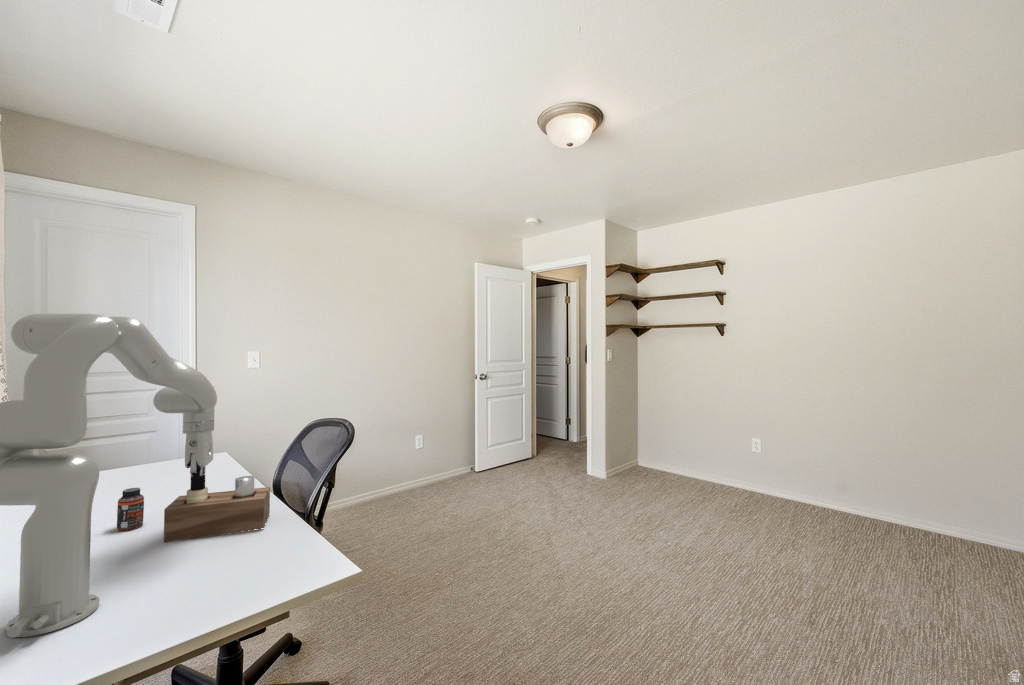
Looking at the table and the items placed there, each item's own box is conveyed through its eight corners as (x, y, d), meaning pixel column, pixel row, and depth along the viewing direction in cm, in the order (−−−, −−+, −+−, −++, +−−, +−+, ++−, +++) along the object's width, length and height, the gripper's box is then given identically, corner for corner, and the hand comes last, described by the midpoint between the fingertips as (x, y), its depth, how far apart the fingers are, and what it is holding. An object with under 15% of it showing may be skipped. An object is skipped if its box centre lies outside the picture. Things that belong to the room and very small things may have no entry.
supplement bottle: (127, 532, 126) (128, 493, 126) (111, 531, 127) (112, 491, 127) (148, 524, 132) (149, 487, 132) (132, 523, 133) (133, 485, 133)
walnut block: (263, 529, 128) (263, 498, 128) (163, 542, 119) (164, 509, 120) (269, 515, 139) (269, 487, 140) (178, 526, 130) (179, 496, 131)
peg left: (204, 522, 126) (205, 491, 126) (183, 525, 124) (184, 493, 124) (209, 516, 130) (209, 486, 131) (189, 518, 129) (189, 488, 129)
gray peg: (252, 509, 130) (252, 479, 131) (232, 512, 128) (233, 481, 129) (255, 504, 135) (255, 475, 135) (236, 506, 133) (237, 476, 133)
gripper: (206, 430, 122) (205, 495, 122) (220, 422, 136) (219, 480, 136) (174, 432, 120) (173, 499, 119) (191, 423, 134) (190, 483, 133)
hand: (197, 489), depth 128 cm, fingers closed
